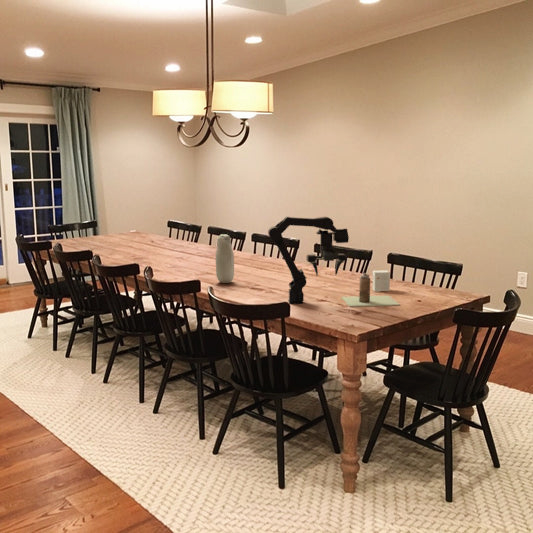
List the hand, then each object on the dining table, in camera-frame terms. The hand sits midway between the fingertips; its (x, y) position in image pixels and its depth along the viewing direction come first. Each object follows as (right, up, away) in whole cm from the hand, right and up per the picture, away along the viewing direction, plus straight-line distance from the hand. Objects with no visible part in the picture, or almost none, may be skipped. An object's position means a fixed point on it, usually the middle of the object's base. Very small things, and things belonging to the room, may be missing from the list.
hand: (326, 275), depth 266 cm
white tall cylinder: (-53, -5, +49) cm, 72 cm away
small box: (+31, -9, +24) cm, 41 cm away
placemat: (+21, -13, +1) cm, 25 cm away
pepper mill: (+18, -13, -1) cm, 22 cm away
